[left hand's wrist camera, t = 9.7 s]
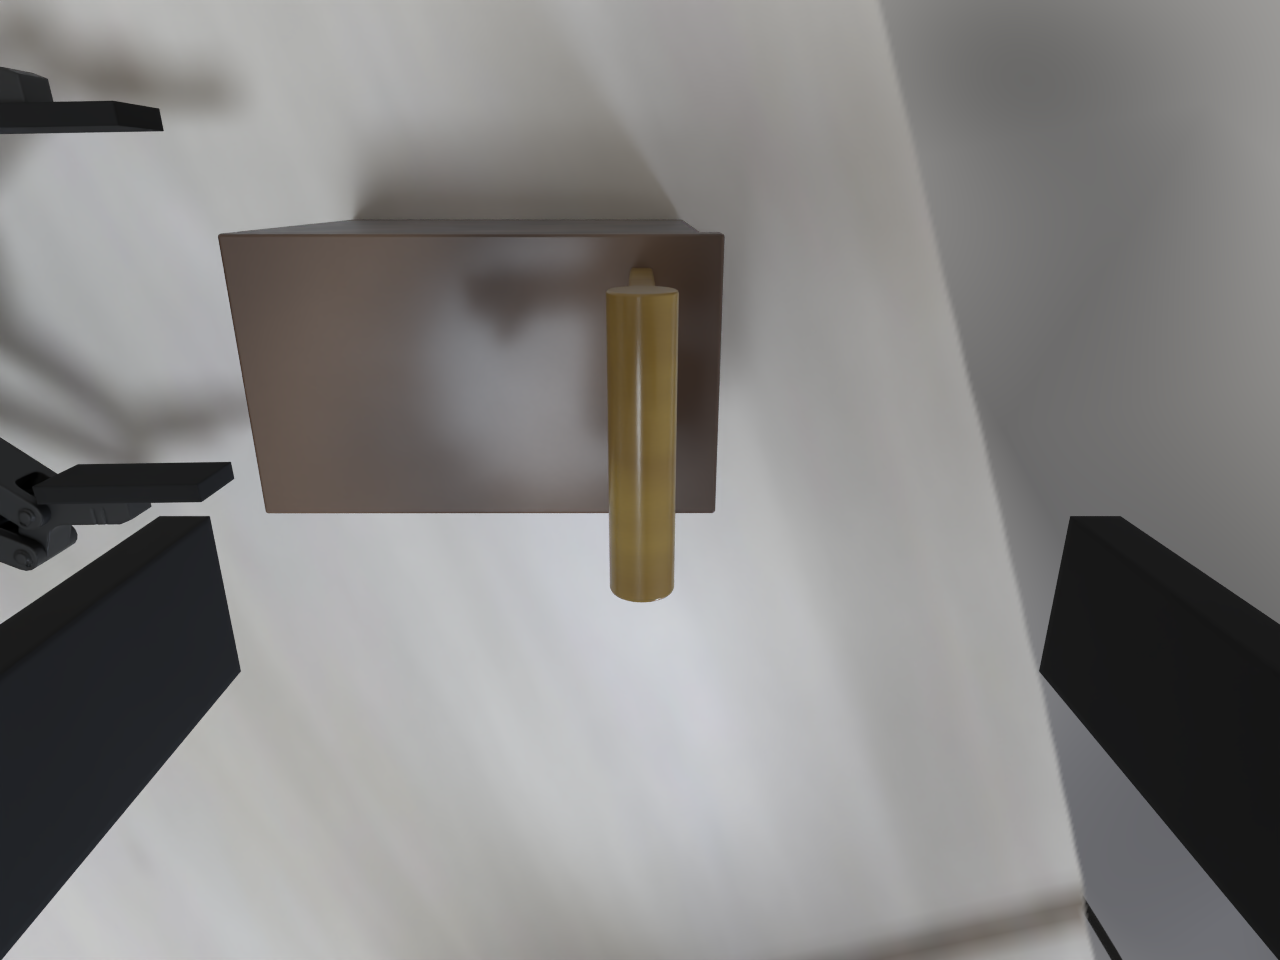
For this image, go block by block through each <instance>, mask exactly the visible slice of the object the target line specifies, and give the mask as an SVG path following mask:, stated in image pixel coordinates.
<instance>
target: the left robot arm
mask: <svg viewBox="0 0 1280 960" xmlns="http://www.w3.org/2000/svg"><path fill="white" fill-rule="evenodd" d="M240 672H241V670H240V665H239V660H238V655H237V650H236V645H235V640H234V635H233V630H232V625H231V620H230V615H229V610H228V605H227V600H226V595H225V590H224V585H223V580H222V575H221V570H220V565H219V560H218V555H217V550H216V545H215V540H214V535H213V530H212V525H211V520H210V516H159V517H158V518H156V519H155V520H153V521H152V522H150V523H149V524H147V525H146V526H144V527H143V528H142V529H140V530H139V531H137V532H136V533H134V534H133V535H131V536H130V537H128V538H127V539H125V540H124V541H122V542H121V543H119V544H118V545H117V546H115V547H114V548H112V549H111V550H109V551H108V552H106V553H105V554H103V555H102V556H100V557H99V558H97V559H96V560H94V561H93V562H91V563H90V564H89V565H87V566H86V567H84V568H83V569H81V570H80V571H78V572H77V573H75V574H74V575H72V576H71V577H69V578H68V579H66V580H65V581H64V582H62V583H61V584H59V585H58V586H56V587H55V588H53V589H52V590H50V591H49V592H47V593H46V594H44V595H43V596H41V597H40V598H39V599H37V600H36V601H34V602H33V603H31V604H30V605H28V606H27V607H25V608H24V609H22V610H21V611H19V612H18V613H16V614H15V615H13V616H12V617H11V618H9V619H8V620H6V621H5V622H3V623H2V624H0V960H2V959H3V957H4V956H5V955H6V954H7V953H8V951H9V950H10V949H11V948H12V947H13V945H14V944H15V943H16V942H17V940H18V939H19V938H20V937H21V936H22V934H23V933H24V932H25V931H26V930H27V928H28V927H29V926H30V925H31V924H32V922H33V921H34V920H35V919H36V918H37V916H38V915H39V914H40V913H41V912H42V910H43V909H44V908H45V907H46V906H47V904H48V903H49V902H50V901H51V899H52V898H53V897H54V896H55V895H56V893H57V892H58V891H59V890H60V889H61V887H62V886H63V885H64V884H65V883H66V881H67V880H68V879H69V878H70V877H71V875H72V874H73V873H74V872H75V871H76V869H77V868H78V867H79V866H80V865H81V863H82V862H83V861H84V860H85V858H86V857H87V856H88V855H89V854H90V852H91V851H92V850H93V849H94V848H95V846H96V845H97V844H98V843H99V842H100V840H101V839H102V838H103V837H104V836H105V834H106V833H107V832H108V831H109V830H110V828H111V827H112V826H113V825H114V824H115V822H116V821H117V820H118V819H119V817H120V816H121V815H122V814H123V813H124V811H125V810H126V809H127V808H128V807H129V805H130V804H131V803H132V802H133V801H134V799H135V798H136V797H137V796H138V795H139V793H140V792H141V791H142V790H143V789H144V787H145V786H146V785H147V784H148V783H149V781H150V780H151V779H152V778H153V777H154V775H155V774H156V773H157V772H158V770H159V769H160V768H161V767H162V766H163V764H164V763H165V762H166V761H167V760H168V758H169V757H170V756H171V755H172V754H173V752H174V751H175V750H176V749H177V748H178V746H179V745H180V744H181V743H182V742H183V740H184V739H185V738H186V737H187V736H188V734H189V733H190V732H191V731H192V729H193V728H194V727H195V726H196V725H197V723H198V722H199V721H200V720H201V719H202V717H203V716H204V715H205V714H206V713H207V711H208V710H209V709H210V708H211V707H212V705H213V704H214V703H215V702H216V701H217V699H218V698H219V697H220V696H221V695H222V693H223V692H224V691H225V690H226V688H227V687H228V686H229V685H230V684H231V682H232V681H233V680H234V679H235V678H236V676H237V675H238V674H239V673H240ZM1039 672H1040V673H1041V674H1042V675H1043V676H1044V678H1045V679H1046V680H1047V681H1048V682H1049V684H1050V685H1051V686H1052V687H1053V688H1054V690H1055V691H1056V692H1057V693H1058V695H1059V696H1060V697H1061V698H1062V699H1063V701H1064V702H1065V703H1066V704H1067V705H1068V707H1069V708H1070V709H1071V710H1072V711H1073V713H1074V714H1075V715H1076V716H1077V717H1078V719H1079V720H1080V721H1081V722H1082V723H1083V725H1084V726H1085V727H1086V728H1087V729H1088V731H1089V732H1090V733H1091V734H1092V735H1093V737H1094V738H1095V739H1096V740H1097V742H1098V743H1099V744H1100V745H1101V746H1102V748H1103V749H1104V750H1105V751H1106V752H1107V754H1108V755H1109V756H1110V757H1111V758H1112V760H1113V761H1114V762H1115V763H1116V764H1117V766H1118V767H1119V768H1120V769H1121V770H1122V772H1123V773H1124V774H1125V775H1126V777H1127V778H1128V779H1129V780H1130V781H1131V782H1132V784H1133V785H1134V786H1135V787H1136V789H1137V790H1138V791H1139V792H1140V793H1141V795H1142V796H1143V797H1144V798H1145V799H1146V801H1147V802H1148V803H1149V804H1150V805H1151V807H1152V808H1153V809H1154V810H1155V811H1156V813H1157V814H1158V815H1159V816H1160V817H1161V819H1162V820H1163V821H1164V822H1165V824H1166V825H1167V826H1168V827H1169V828H1170V830H1171V831H1172V832H1173V833H1174V834H1175V836H1176V837H1177V838H1178V839H1179V840H1180V842H1181V843H1182V844H1183V845H1184V846H1185V848H1186V849H1187V850H1188V851H1189V852H1190V854H1191V855H1192V856H1193V857H1194V858H1195V860H1196V861H1197V862H1198V863H1199V865H1200V866H1201V867H1202V868H1203V869H1204V871H1205V872H1206V873H1207V874H1208V875H1209V877H1210V878H1211V879H1212V880H1213V881H1214V883H1215V884H1216V885H1217V886H1218V887H1219V889H1220V890H1221V891H1222V892H1223V893H1224V895H1225V896H1226V897H1227V898H1228V899H1229V901H1230V902H1231V903H1232V904H1233V905H1234V907H1235V908H1236V909H1237V910H1238V912H1239V913H1240V914H1241V915H1242V916H1243V918H1244V919H1245V920H1246V921H1247V922H1248V924H1249V925H1250V926H1251V927H1252V928H1253V930H1254V931H1255V932H1256V933H1257V934H1258V936H1259V937H1260V938H1261V939H1262V940H1263V942H1264V943H1265V944H1266V945H1267V947H1268V948H1269V949H1270V950H1271V951H1272V953H1273V954H1274V955H1275V956H1276V957H1277V959H1278V960H1280V624H1278V623H1277V622H1275V621H1274V620H1272V619H1271V618H1269V617H1268V616H1267V615H1265V614H1264V613H1262V612H1261V611H1259V610H1258V609H1256V608H1255V607H1253V606H1252V605H1250V604H1249V603H1247V602H1246V601H1244V600H1243V599H1241V598H1240V597H1239V596H1237V595H1236V594H1234V593H1233V592H1231V591H1230V590H1228V589H1227V588H1225V587H1224V586H1222V585H1221V584H1219V583H1218V582H1216V581H1215V580H1213V579H1212V578H1211V577H1209V576H1208V575H1206V574H1205V573H1203V572H1202V571H1200V570H1199V569H1197V568H1196V567H1194V566H1193V565H1191V564H1190V563H1188V562H1187V561H1186V560H1184V559H1183V558H1181V557H1180V556H1178V555H1177V554H1175V553H1174V552H1172V551H1171V550H1169V549H1168V548H1166V547H1165V546H1163V545H1162V544H1160V543H1159V542H1158V541H1156V540H1155V539H1153V538H1152V537H1150V536H1149V535H1147V534H1146V533H1144V532H1143V531H1141V530H1140V529H1138V528H1137V527H1135V526H1134V525H1133V524H1131V523H1130V522H1128V521H1127V520H1125V519H1124V518H1122V517H1121V516H1070V520H1069V525H1068V530H1067V535H1066V540H1065V545H1064V550H1063V555H1062V560H1061V565H1060V570H1059V575H1058V580H1057V585H1056V590H1055V595H1054V600H1053V605H1052V610H1051V615H1050V620H1049V625H1048V630H1047V635H1046V640H1045V645H1044V650H1043V655H1042V660H1041V665H1040V670H1039ZM1084 901H1085V902H1084V908H1085V917H1086V918H1087V920H1088V922H1089V923H1090V925H1091V926H1092V928H1093V930H1094V931H1095V933H1096V935H1097V937H1098V938H1099V940H1100V941H1101V943H1102V945H1103V947H1104V948H1105V950H1106V952H1107V953H1108V955H1109V957H1110V959H1111V960H1122V958H1121V956H1120V954H1119V953H1118V951H1117V949H1116V948H1115V946H1114V944H1113V943H1112V941H1111V940H1110V938H1109V936H1108V935H1107V933H1106V931H1105V930H1104V928H1103V927H1102V925H1101V923H1100V922H1099V920H1098V918H1097V917H1096V915H1095V914H1094V912H1093V910H1092V909H1091V907H1090V906H1089V904H1088V903H1087V901H1086V899H1085V898H1084Z"/></svg>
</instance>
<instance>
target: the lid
mask: <svg viewBox="0 0 1280 960" xmlns="http://www.w3.org/2000/svg"><path fill="white" fill-rule="evenodd" d="M724 238H725V237H724V235H723V234H722V233H719V232H232V233H223V234H219V235H218V239H219V245H220V250H221V256H222V262H223V268H224V273H225V279H226V285H227V291H228V296H229V302H230V308H231V314H232V319H233V325H234V331H235V337H236V342H237V348H238V354H239V360H240V365H241V371H242V377H243V383H244V388H245V394H246V400H247V406H248V411H249V417H250V423H251V429H252V434H253V440H254V446H255V452H256V457H257V463H258V469H259V475H260V480H261V486H262V492H263V498H264V503H265V509H266V512H267V513H609V547H610V588H611V591H612V592H613V593H614V594H615V595H616V596H617V597H619V598H621V599H624V600H627V601H632V602H652V601H657V600H660V599H663V598H665V597H667V596H668V595H670V594H671V592H672V591H673V588H674V553H675V513H714V511H715V496H716V467H717V438H718V410H719V381H720V352H721V324H722V295H723V266H724Z"/></svg>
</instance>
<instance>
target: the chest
mask: <svg viewBox="0 0 1280 960" xmlns="http://www.w3.org/2000/svg"><path fill="white" fill-rule="evenodd" d="M241 232H699V231H697V230H696V229H694V228H693V227H691V226H690V225H689V224H687V223H686V222H684V221H683V220H346V221H337V222H327V223H318V224H308V225H299V226H289V227H279V228H270V229H260V230H251V231H241Z"/></svg>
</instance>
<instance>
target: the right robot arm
mask: <svg viewBox="0 0 1280 960" xmlns="http://www.w3.org/2000/svg"><path fill="white" fill-rule="evenodd" d="M141 131H164V130H163V125H162V120H161V115H160V111H159V109H158V108H152V107H146V106H140V105H134V104H129V103H123V102H117V101H78V102H53V98H52V94H51V90H50V86H49V82H48V79H47V78H44V77H42V76H39V75H36V74H34V73H30V72H25V71H20V70H15V69H10V68H4V67H0V134H29V133H85V132H141ZM233 479H234V475H233V470H232V465H231V462H200V463H136V464H78V465H76V466H74V467H72V468H70V469H67V470H65V471H63V472H61V473H59V474H57V473H55V472H53V471H52V470H50V469H49V468H47V467H46V466H44V465H43V464H41V463H39V462H38V461H36V460H35V459H33V458H32V457H30V456H28V455H27V454H25V453H24V452H22V451H21V450H19V449H18V448H16V447H14V446H13V445H11V444H10V443H8V442H7V441H5V440H3V439H2V438H0V562H2V563H5V564H7V565H10V566H13V567H15V568H18V569H21V570H25V571H28V570H32V569H34V568H36V567H37V566H39V565H40V564H42V563H44V562H46V561H47V560H49V559H50V558H52V557H54V556H55V555H57V554H58V553H60V552H62V551H63V550H65V549H66V548H68V547H69V546H71V545H72V544H74V543H75V542H76V540H77V532H76V530H75V529H74V527H73V526H72V525H95V524H98V525H100V524H122V523H124V522H127V521H129V520H131V519H133V518H135V517H136V516H138V515H139V514H141V513H142V512H144V511H145V510H147V509H148V508H150V507H151V503H169V502H202V501H204V500H205V499H206V498H208V497H209V496H211V495H212V494H213V493H215V492H216V491H218V490H219V489H220V488H222V487H223V486H225V485H226V484H227V483H229V482H230V481H232V480H233Z"/></svg>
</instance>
